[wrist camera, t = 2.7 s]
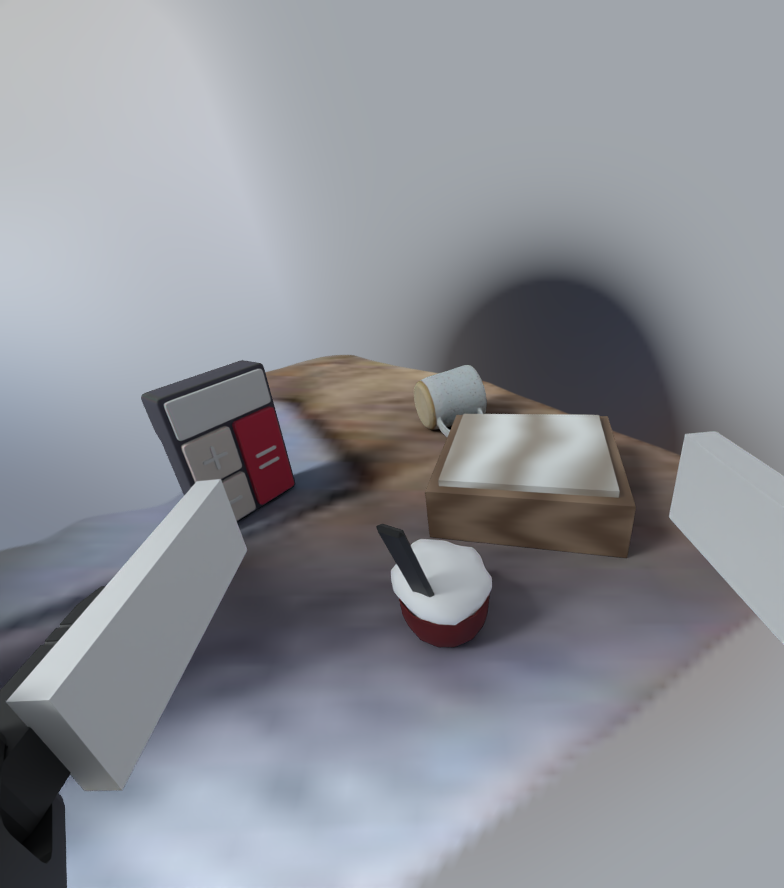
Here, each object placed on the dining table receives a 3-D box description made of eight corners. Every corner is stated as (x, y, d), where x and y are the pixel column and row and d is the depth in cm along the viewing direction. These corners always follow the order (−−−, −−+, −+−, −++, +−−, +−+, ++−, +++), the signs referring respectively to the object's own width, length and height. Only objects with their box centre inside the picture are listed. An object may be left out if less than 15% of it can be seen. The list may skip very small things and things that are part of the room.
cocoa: (458, 574, 34) (450, 441, 30) (521, 619, 30) (523, 470, 25) (361, 638, 30) (332, 493, 25) (417, 705, 25) (395, 540, 20)
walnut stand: (429, 536, 38) (424, 485, 36) (458, 451, 52) (456, 410, 49) (627, 558, 33) (637, 499, 31) (602, 457, 46) (608, 411, 44)
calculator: (215, 540, 42) (158, 401, 35) (195, 526, 44) (138, 394, 38) (300, 487, 49) (267, 362, 42) (278, 477, 52) (244, 359, 45)
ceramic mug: (413, 420, 62) (408, 370, 58) (463, 407, 63) (461, 358, 60) (443, 451, 53) (439, 394, 49) (501, 435, 54) (501, 379, 51)
